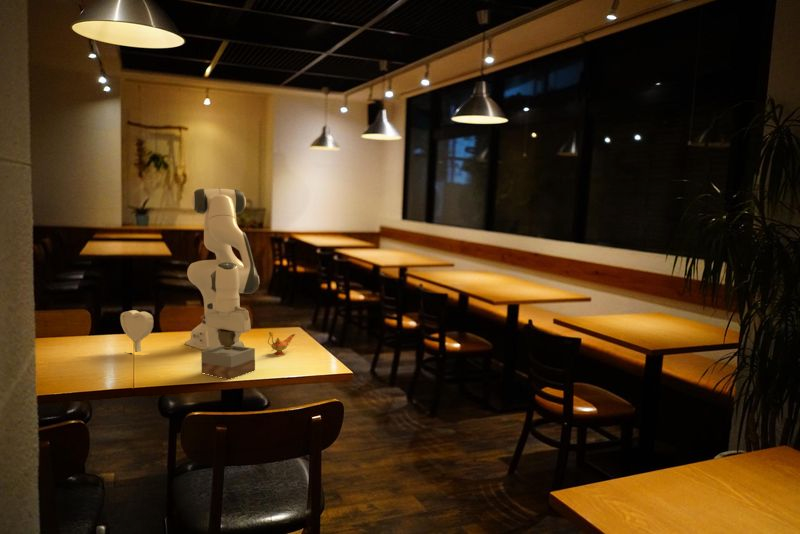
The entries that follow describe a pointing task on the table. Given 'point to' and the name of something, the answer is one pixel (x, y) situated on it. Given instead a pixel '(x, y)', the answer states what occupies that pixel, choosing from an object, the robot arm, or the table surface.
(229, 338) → the cup
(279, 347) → the magic lamp
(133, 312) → the heart sculpture
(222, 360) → the tower block high
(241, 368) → the tower block low
